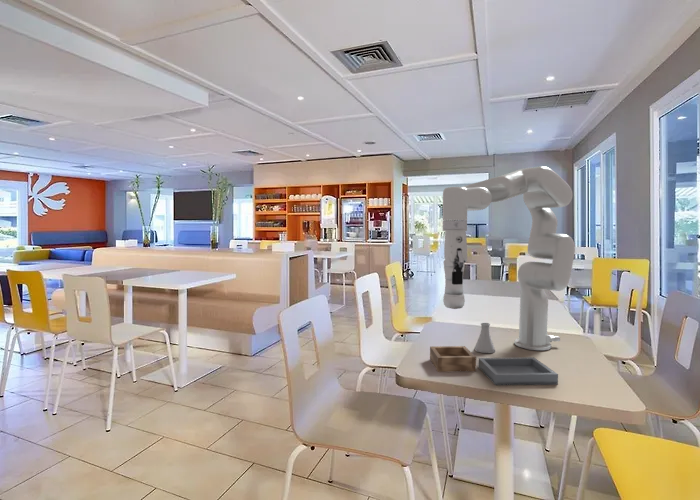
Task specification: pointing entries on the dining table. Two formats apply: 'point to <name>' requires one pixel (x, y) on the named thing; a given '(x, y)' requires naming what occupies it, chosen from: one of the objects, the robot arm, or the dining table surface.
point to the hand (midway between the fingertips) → (454, 282)
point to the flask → (485, 340)
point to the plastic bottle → (452, 288)
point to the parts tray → (517, 371)
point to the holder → (452, 359)
